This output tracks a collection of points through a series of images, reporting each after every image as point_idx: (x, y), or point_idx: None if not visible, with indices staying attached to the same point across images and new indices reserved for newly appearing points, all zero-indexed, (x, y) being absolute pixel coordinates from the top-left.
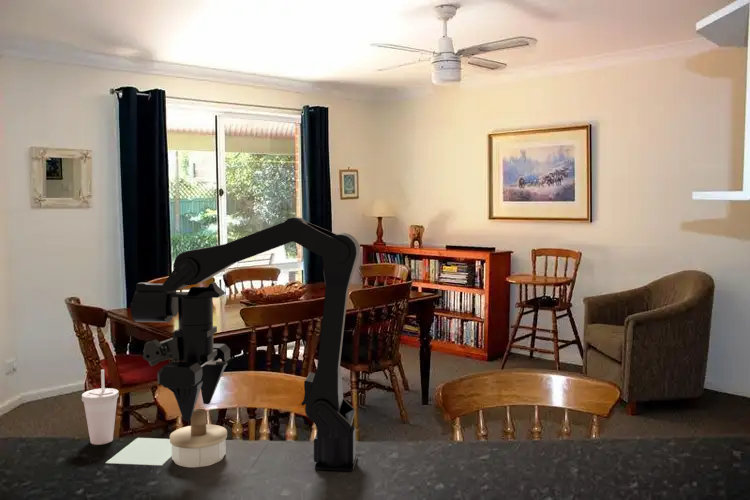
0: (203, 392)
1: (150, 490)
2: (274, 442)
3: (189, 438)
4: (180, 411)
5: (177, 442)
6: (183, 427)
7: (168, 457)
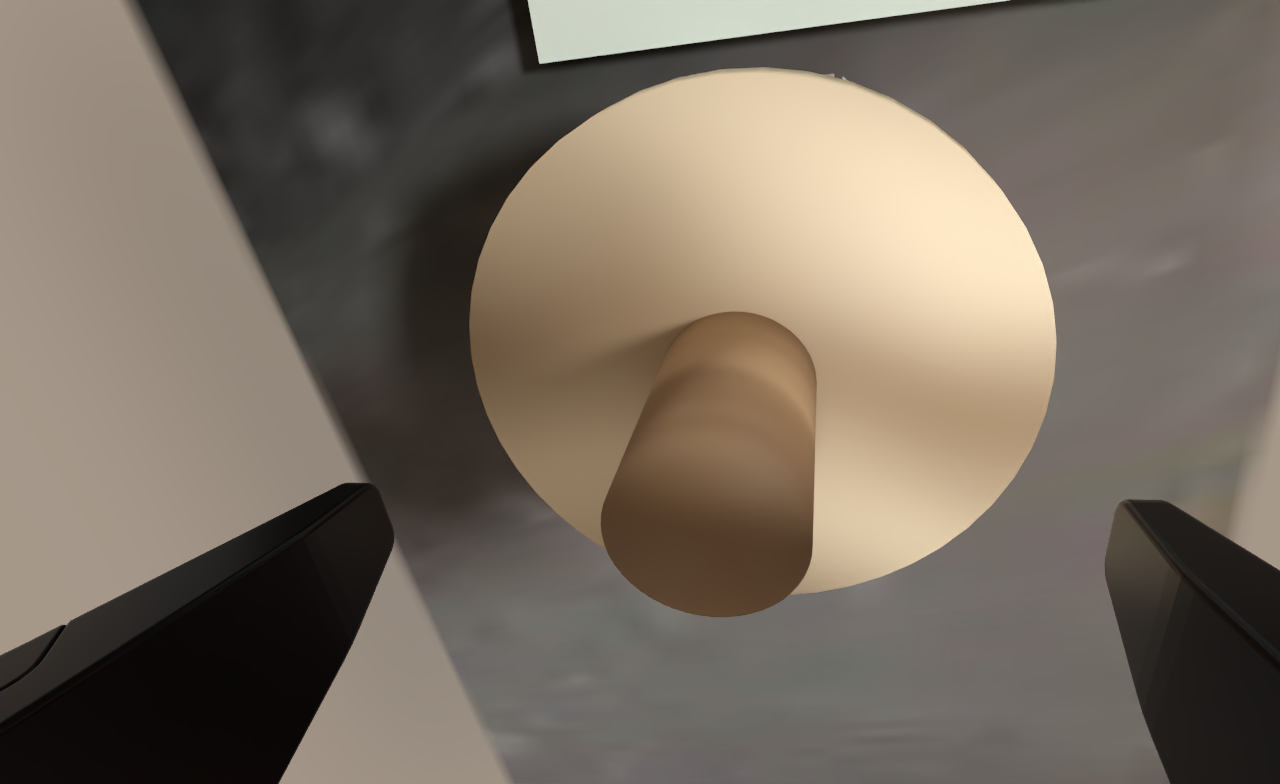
0: (1218, 653)
1: (251, 179)
2: None
3: (590, 350)
4: (227, 542)
5: (475, 281)
6: (921, 128)
7: (707, 24)
